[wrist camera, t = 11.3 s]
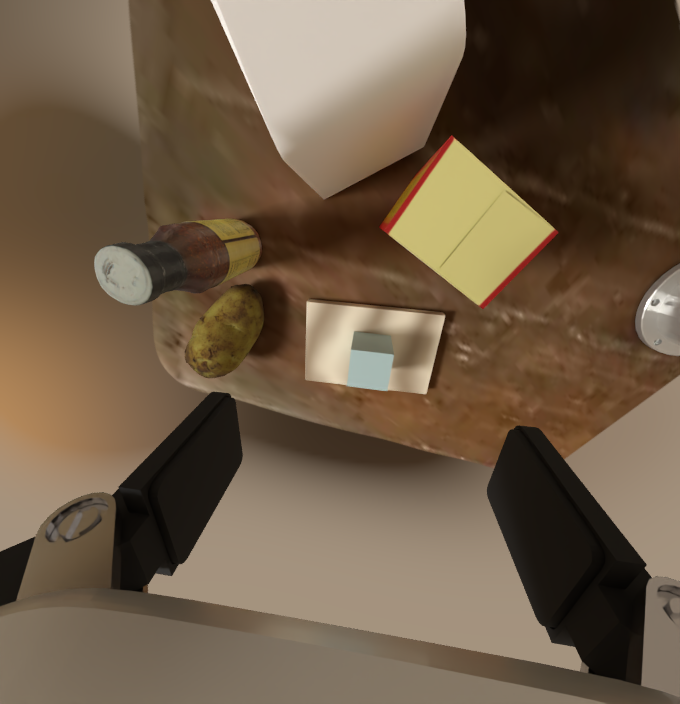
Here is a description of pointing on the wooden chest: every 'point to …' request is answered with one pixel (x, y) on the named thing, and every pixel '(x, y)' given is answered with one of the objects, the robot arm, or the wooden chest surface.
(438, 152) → the baking soda box
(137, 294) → the sauce bottle
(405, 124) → the milk
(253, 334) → the potato
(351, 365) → the teal block
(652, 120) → the wooden chest surface
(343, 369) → the birch board
